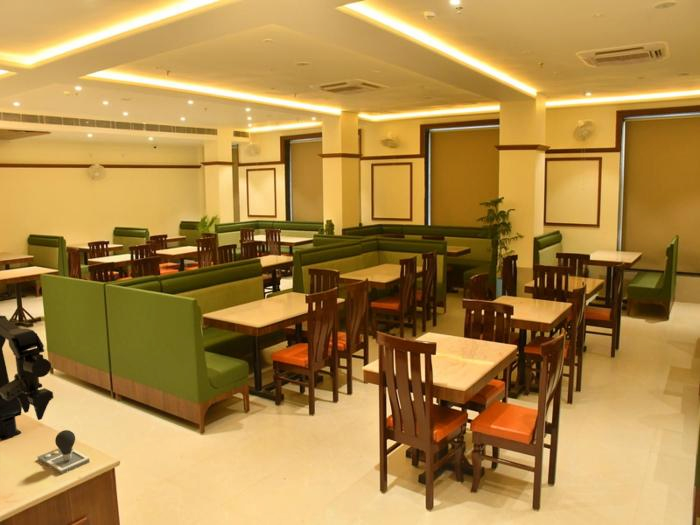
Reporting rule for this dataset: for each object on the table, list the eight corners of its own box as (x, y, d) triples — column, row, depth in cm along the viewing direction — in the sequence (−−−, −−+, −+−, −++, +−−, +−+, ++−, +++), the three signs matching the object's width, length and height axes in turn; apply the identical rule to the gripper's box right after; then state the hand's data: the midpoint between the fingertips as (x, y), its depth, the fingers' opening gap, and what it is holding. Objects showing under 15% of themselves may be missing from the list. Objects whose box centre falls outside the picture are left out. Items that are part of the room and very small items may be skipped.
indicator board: (37, 459, 184) (37, 455, 184) (65, 448, 191) (65, 444, 191) (61, 474, 175) (60, 470, 175) (89, 461, 182) (89, 457, 182)
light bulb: (69, 465, 178) (66, 436, 176) (53, 464, 179) (50, 434, 177) (81, 456, 183) (78, 427, 182) (65, 455, 185) (62, 426, 183)
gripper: (-13, 371, 182) (-7, 417, 185) (13, 384, 171) (20, 433, 174) (24, 361, 191) (29, 405, 194) (51, 373, 180) (56, 419, 183)
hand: (33, 415), depth 186 cm, fingers open, 9 cm apart
